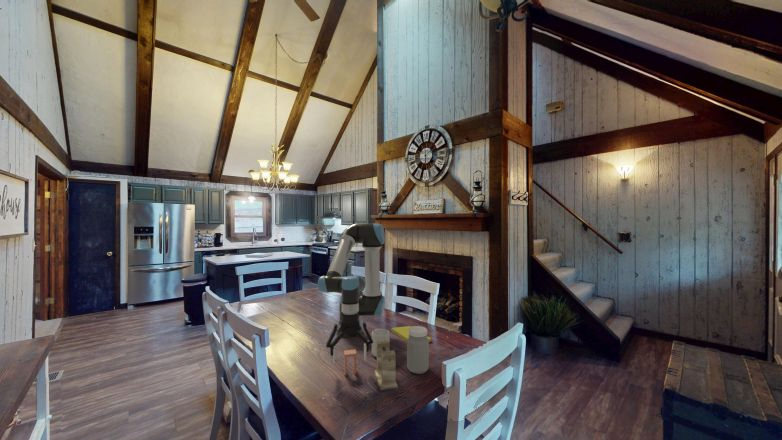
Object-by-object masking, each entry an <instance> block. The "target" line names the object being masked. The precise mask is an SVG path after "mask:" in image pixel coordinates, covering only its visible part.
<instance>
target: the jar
mask: <svg viewBox="0 0 782 440" xmlns="http://www.w3.org/2000/svg"><path fill="white" fill-rule="evenodd" d="M427 336H428V329H427V327H424V326H422V325H416V326H415V325H413V326H411V327H410V328H409V337H408V339H407V342H406V368H407V369H408V370H409V372H410V373H413V374H416V375H421V374H425V373H426V372H428V370H429V366H430V364H429V363H430V361H429V360H430V357H429V355H430V352H429V351H430V349H429V347H430V342H429V340H428V338H427Z"/></svg>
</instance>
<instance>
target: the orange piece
mask: <svg viewBox="0 0 782 440" xmlns="http://www.w3.org/2000/svg"><path fill="white" fill-rule="evenodd" d="M349 357H353V364H352V366H353V369H352V370H353V374H354V375H357V350H356V349H349V350H348V349H347V350H344V351H343V374H344V376H347V374H348V373H347V369H348V367H347V363H348V362H347V358H349Z"/></svg>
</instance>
